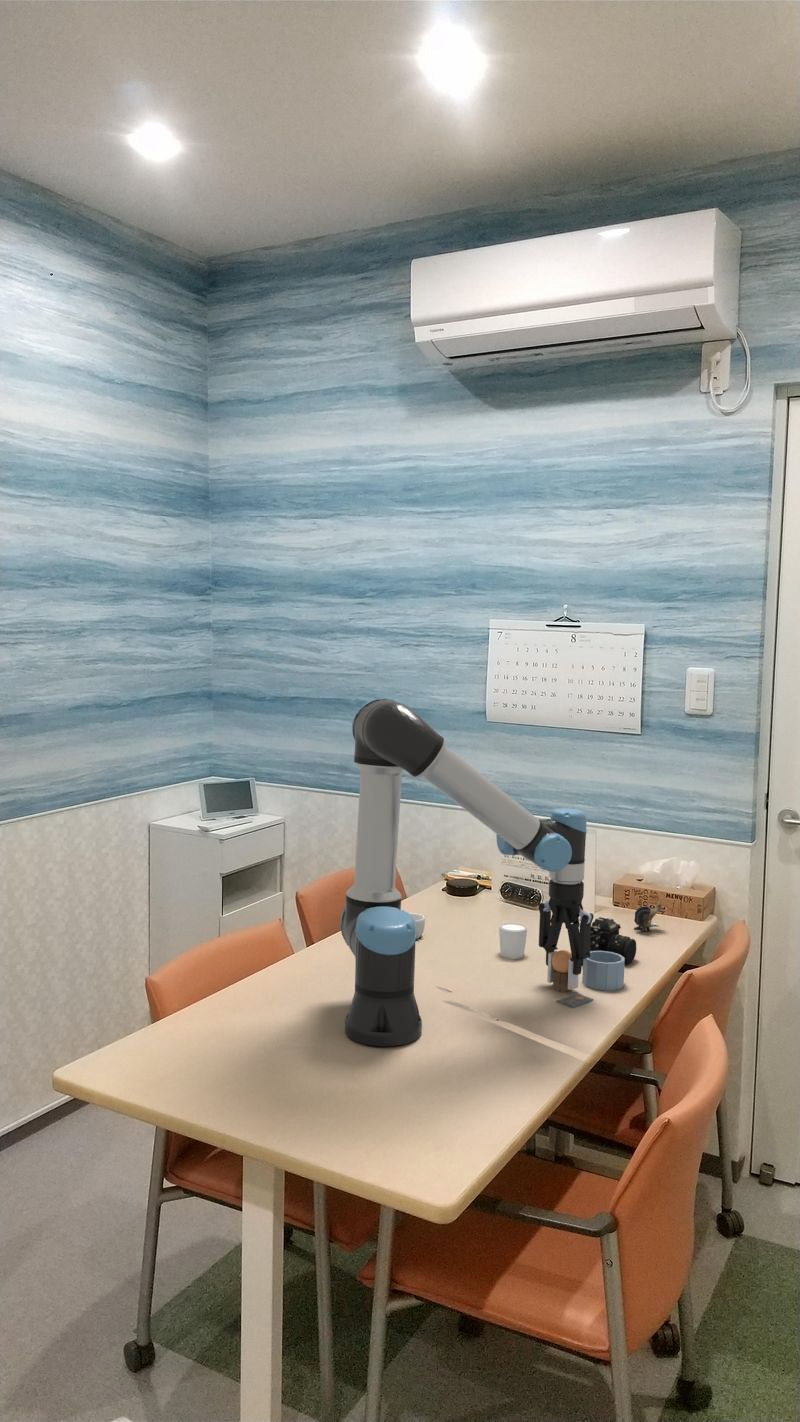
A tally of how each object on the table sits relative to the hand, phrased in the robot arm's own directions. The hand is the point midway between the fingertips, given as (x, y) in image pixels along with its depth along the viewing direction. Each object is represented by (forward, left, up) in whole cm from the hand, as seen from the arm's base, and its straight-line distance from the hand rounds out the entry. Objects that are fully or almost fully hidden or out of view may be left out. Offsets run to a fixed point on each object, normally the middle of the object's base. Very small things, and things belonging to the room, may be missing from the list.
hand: (562, 984), depth 217 cm
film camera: (+24, +5, -1) cm, 25 cm away
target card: (-4, -6, -1) cm, 8 cm away
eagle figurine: (+49, +11, -1) cm, 50 cm away
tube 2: (+10, -3, -1) cm, 11 cm away
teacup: (-2, +48, -1) cm, 48 cm away
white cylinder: (+9, +23, -1) cm, 24 cm away
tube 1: (0, 0, -1) cm, 1 cm away
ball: (0, 0, +5) cm, 5 cm away
